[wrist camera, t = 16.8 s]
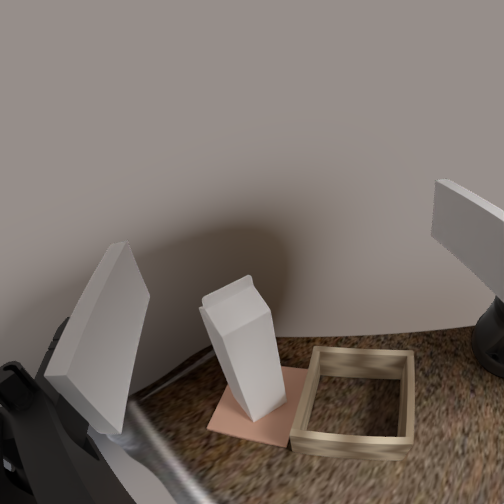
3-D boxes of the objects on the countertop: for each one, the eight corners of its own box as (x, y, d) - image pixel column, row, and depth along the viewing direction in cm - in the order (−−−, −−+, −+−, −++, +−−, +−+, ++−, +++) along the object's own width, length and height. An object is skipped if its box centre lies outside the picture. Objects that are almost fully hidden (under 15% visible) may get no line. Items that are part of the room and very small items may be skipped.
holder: (406, 374, 41) (413, 350, 38) (401, 460, 29) (413, 444, 26) (315, 369, 46) (314, 345, 43) (292, 451, 34) (289, 435, 31)
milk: (287, 402, 41) (268, 286, 30) (253, 423, 39) (214, 314, 28) (265, 377, 46) (238, 262, 35) (232, 396, 43) (190, 285, 32)
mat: (308, 371, 46) (308, 369, 46) (286, 447, 35) (286, 446, 35) (239, 362, 50) (239, 360, 50) (207, 429, 39) (206, 428, 39)
